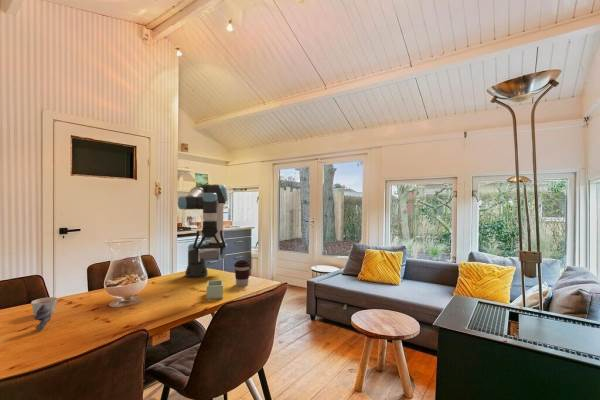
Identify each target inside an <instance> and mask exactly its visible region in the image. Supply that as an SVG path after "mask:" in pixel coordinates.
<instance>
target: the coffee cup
mask: <svg viewBox="0 0 600 400" xmlns="http://www.w3.org/2000/svg"><path fill="white" fill-rule="evenodd" d="M233 265H234V268H235V269H234V274H235V275H234V277H235V285H236V286H237V287H246V286H248V285H249V278H250V267H251V262H249V261H248V260H247V259H246V260H245V259H241V260H240V259H239V260H237V261H236V262H234V264H233Z"/></svg>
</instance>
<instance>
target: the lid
mask: <svg viewBox="0 0 600 400" xmlns="http://www.w3.org/2000/svg"><path fill="white" fill-rule="evenodd" d="M199 258H203V260H205V261H208V260H207V259H216V258H219V248H216V249H215V248H211V249H201V250H200V253H199Z"/></svg>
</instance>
